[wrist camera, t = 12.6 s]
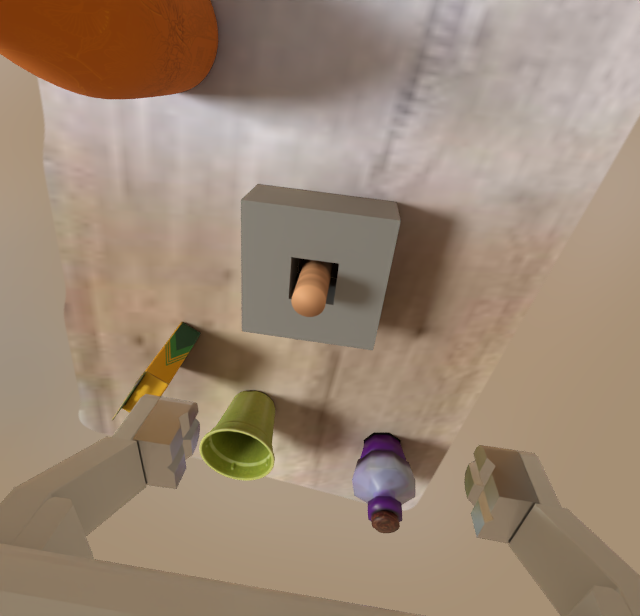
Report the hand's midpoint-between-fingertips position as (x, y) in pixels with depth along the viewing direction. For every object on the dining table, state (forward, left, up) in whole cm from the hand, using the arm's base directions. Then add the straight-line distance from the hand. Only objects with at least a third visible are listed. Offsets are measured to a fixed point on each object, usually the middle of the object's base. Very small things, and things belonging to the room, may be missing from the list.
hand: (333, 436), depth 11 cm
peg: (+8, -3, -31) cm, 32 cm away
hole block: (+8, -3, -31) cm, 32 cm away
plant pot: (+32, -10, -31) cm, 46 cm away
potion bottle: (+36, +9, -31) cm, 49 cm away
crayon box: (+23, -20, -31) cm, 44 cm away
